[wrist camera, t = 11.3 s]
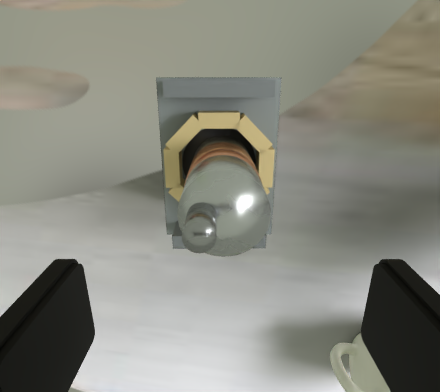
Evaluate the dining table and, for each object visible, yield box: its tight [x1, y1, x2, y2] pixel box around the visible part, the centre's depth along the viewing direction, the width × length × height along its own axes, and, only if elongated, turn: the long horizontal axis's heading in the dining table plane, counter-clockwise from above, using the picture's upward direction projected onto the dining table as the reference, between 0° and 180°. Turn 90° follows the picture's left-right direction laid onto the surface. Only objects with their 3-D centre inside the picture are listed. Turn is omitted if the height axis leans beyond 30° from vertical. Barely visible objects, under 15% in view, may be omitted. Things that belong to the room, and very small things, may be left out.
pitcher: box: [330, 332, 391, 392], centre depth 38 cm, size 11×18×14 cm, turn 65°
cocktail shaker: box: [177, 135, 271, 256], centre depth 20 cm, size 5×5×13 cm
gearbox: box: [156, 78, 281, 249], centre depth 29 cm, size 10×14×11 cm
